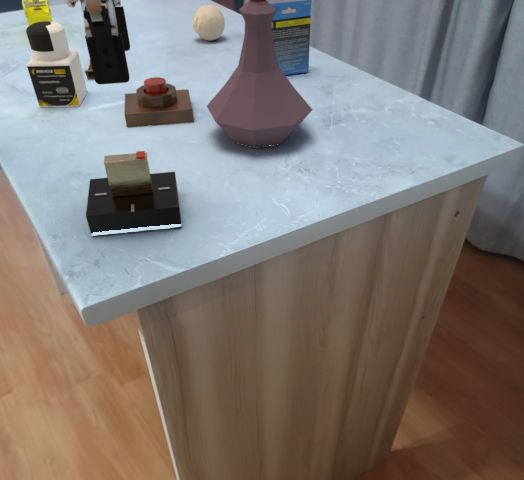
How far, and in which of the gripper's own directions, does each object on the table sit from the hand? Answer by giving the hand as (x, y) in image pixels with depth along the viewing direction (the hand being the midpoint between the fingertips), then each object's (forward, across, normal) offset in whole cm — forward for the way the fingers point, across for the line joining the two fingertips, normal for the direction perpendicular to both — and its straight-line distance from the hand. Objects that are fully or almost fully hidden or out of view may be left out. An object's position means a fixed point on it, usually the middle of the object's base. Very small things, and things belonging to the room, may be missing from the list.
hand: (114, 65), depth 53 cm
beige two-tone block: (+15, -2, -1) cm, 15 cm away
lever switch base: (+18, -2, -1) cm, 18 cm away
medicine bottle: (+18, -43, -14) cm, 49 cm away
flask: (+18, -22, +18) cm, 34 cm away
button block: (+18, -33, +3) cm, 38 cm away
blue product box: (+18, -49, +28) cm, 60 cm away
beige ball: (+18, -74, +16) cm, 77 cm away
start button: (+14, -33, +3) cm, 36 cm away
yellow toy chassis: (+18, -87, -23) cm, 91 cm away
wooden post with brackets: (+18, -56, -9) cm, 60 cm away
